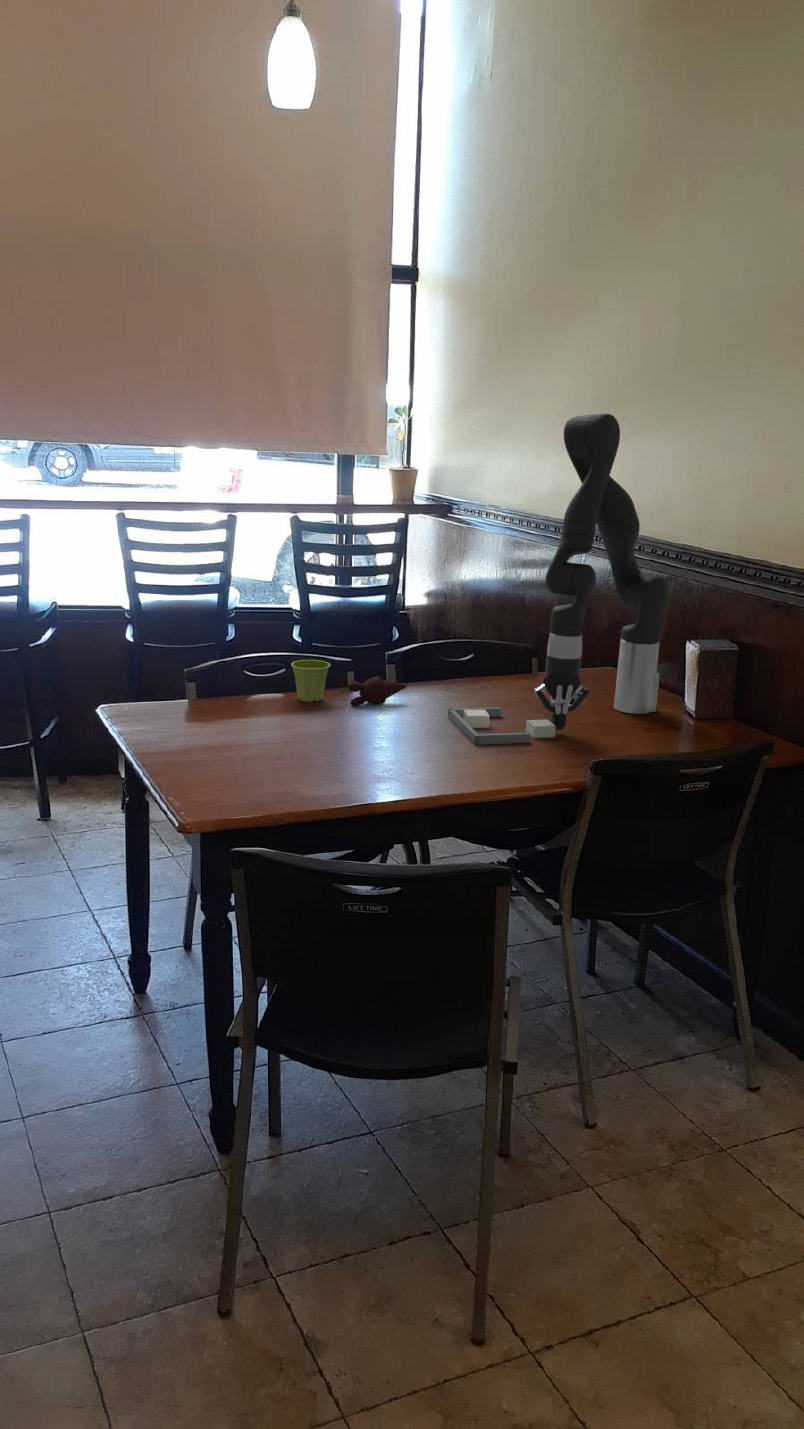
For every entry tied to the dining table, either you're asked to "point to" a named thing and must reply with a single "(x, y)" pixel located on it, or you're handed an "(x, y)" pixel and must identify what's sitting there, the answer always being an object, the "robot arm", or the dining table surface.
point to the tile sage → (540, 728)
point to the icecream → (374, 691)
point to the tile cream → (476, 718)
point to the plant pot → (310, 679)
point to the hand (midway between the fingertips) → (557, 728)
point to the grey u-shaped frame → (476, 738)
